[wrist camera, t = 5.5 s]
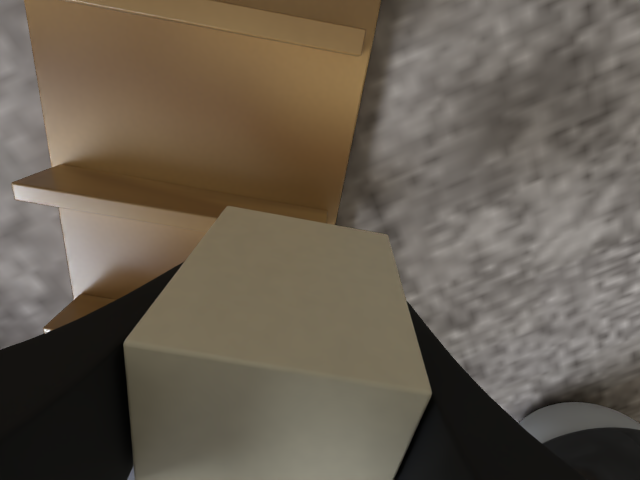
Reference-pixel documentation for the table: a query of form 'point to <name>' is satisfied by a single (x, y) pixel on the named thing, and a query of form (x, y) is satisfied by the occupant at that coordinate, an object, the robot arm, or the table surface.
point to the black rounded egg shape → (589, 439)
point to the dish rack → (188, 124)
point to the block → (276, 358)
